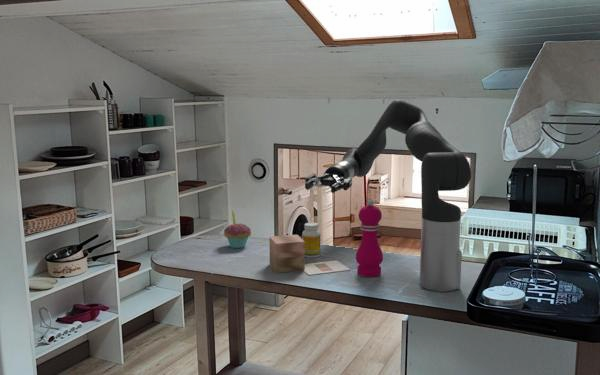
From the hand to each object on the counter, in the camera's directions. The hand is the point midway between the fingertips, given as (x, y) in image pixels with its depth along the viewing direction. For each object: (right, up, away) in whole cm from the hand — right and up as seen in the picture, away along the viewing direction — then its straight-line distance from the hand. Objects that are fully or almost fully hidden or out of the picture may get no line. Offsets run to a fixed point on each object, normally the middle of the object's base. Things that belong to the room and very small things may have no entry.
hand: (319, 188), depth 170 cm
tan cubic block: (-10, -22, -16) cm, 29 cm away
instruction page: (+1, -22, -17) cm, 28 cm away
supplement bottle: (-3, -20, -5) cm, 21 cm away
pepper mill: (+13, -23, -22) cm, 34 cm away
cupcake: (-26, -18, +6) cm, 32 cm away
